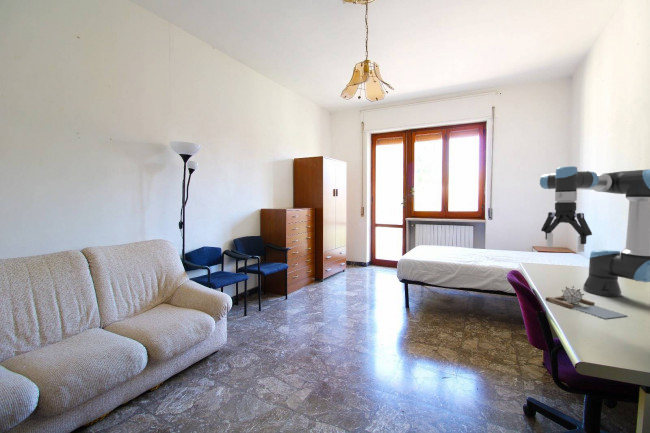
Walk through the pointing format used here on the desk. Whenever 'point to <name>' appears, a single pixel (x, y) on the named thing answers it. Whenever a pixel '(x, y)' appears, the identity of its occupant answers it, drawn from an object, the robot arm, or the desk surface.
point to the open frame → (557, 301)
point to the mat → (600, 312)
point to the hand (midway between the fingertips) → (564, 249)
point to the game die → (572, 295)
